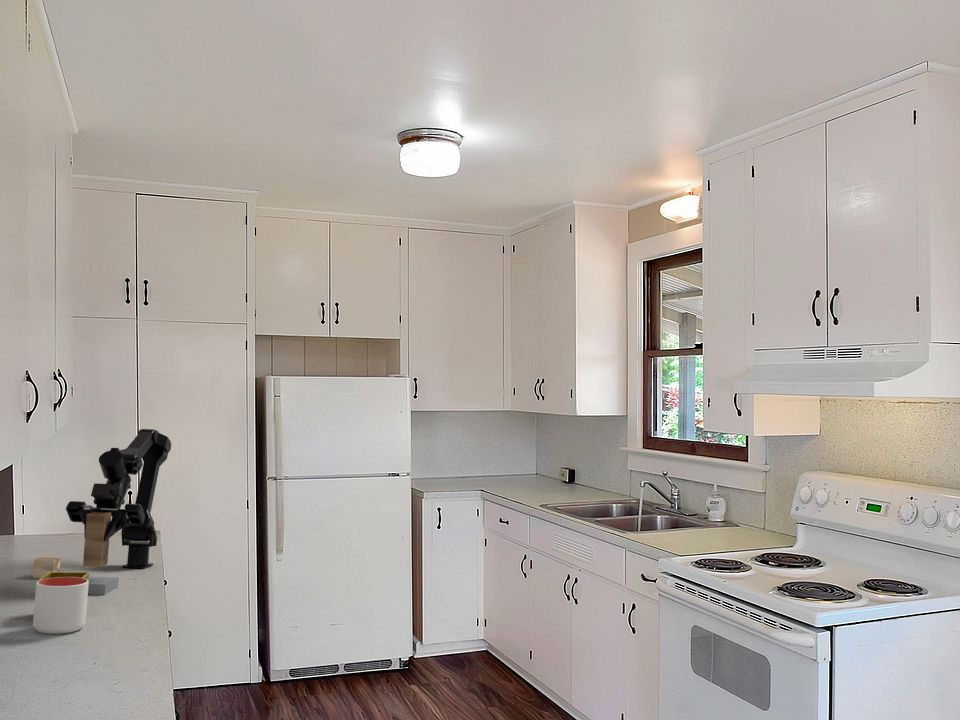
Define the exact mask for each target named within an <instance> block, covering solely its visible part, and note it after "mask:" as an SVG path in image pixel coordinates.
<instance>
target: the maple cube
mask: <svg viewBox="0 0 960 720" xmlns="http://www.w3.org/2000/svg"><path fill="white" fill-rule="evenodd" d="M61 558H62V557H61V556H40V557H38V558H36V559H33V560H34V562H33V573H32V574H33V575H32V579H33V578H42V577H43V576H44V575H46V574H47V573H49V572H60V571H61V570H60V569H61Z"/></svg>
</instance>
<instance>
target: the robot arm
mask: <svg viewBox="0 0 960 720" xmlns="http://www.w3.org/2000/svg"><path fill="white" fill-rule="evenodd" d="M171 450H172V442H171V440H170V438H169V437H168V436H167V435H164V434H162V433H160V432H159V431H158V430H156V429H153V428H152V429H150V428H141V429H139V430H138V432H137V434H136V436H135V437H134V439H133V440H132V441H131V442H130V444H128V446H126V448H124V449H120V447H110V450H107V451H105V452H103V453H102V454H101V455H100V456H98V463H99V467H100V468H101V472H102V475H103V478H105V479H107V480H106V483H98V482H97V483H95V482H94V483H93V486H92V489H91V494H90V496H91V497H92V498H94V499H93V504H94V505H96V506H93V505H90V504H86V501H83V500H82V501H79V500H70V501H69V502H67V505H66V507H65V510H66V513H67V516H68V518H69V521H70V522H73V523H82V524H83V526H84V529H83V530H84V534H83V535H84V536H83V537H84V539H85V532H86V519H87V514H89V513H92V512H105V513H111V522H110V524H109V526H108V528H107V531H106V533H105V536H104V541H107V540H108V539H109V540H110V538H111V537H113V536H114V535H115V534H116V533H118V532H119V531H120V532H121V533H120V534H121V545H122V546H123V547H125V546H128V547H127V548H128V549H127V560H126V562H127V563H125V564H122V566H121V567H122V568H129V569H139V568H143V569H145V567H146V568H149V567H152V566H154V563H151V562H149V560H150V548H151V547H152V548H153V547H157V545H158V544H157V542H158V535H157V532H156V529H155V521H154V519H153V516H152V514H151V511H152V507H153V502H154V496H155V491H156V486H157V482H158V477H159V473H160V468H161V466H162V465H163V464H164V463H165V462H166V460H168V456H169V453H170V452H171ZM140 471H141V474H140V479H139V484H138V490H137V494H136V498H135V503H126V504H125V502H126V501H125V498H126V495H127V492H128V490H129V489H131V482H132V479H131V476H130V475H133V476H136V475H137V474H138V473H139V472H140ZM123 505H124V509H123V508H121V507H122V506H123ZM151 565H152V566H151ZM148 566H149V567H148Z"/></svg>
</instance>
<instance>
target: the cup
mask: <svg viewBox="0 0 960 720" xmlns="http://www.w3.org/2000/svg"><path fill="white" fill-rule="evenodd" d="M88 584H89V581H88V580H87V579H84V578H78V577H55V578H47V579H43V580H40V581H38V580H37V581H36V584H35V595H34V597H35V598H34V607H33V619H32V621H33V622H32V626H33V629H34V630H35V631H36V632H38V633H41V634H47V635H65V634H70V633H74V632H76V631H79V630H81V629H83V628H84V626H85V625H86V620H87V607H88V597H89V595H88Z"/></svg>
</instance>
